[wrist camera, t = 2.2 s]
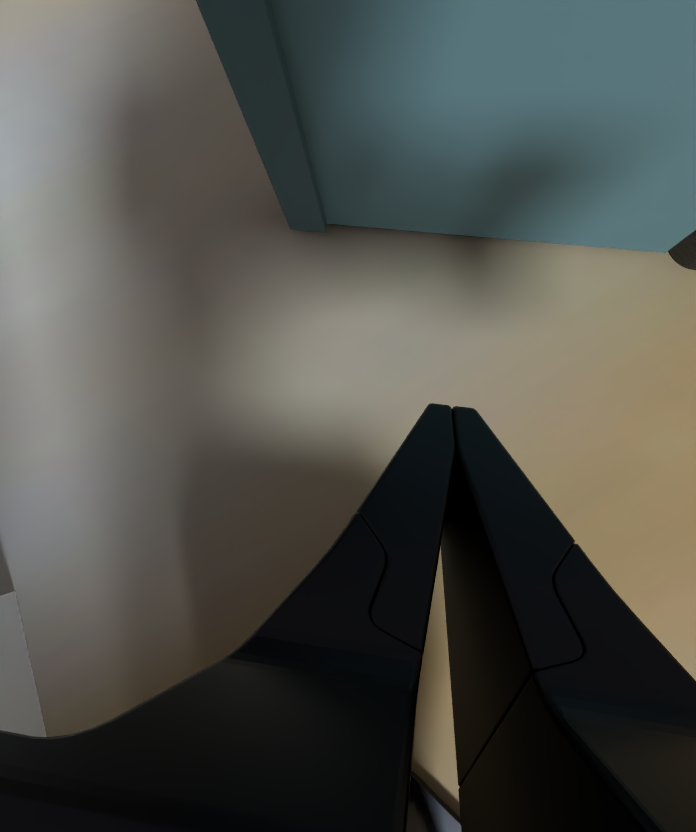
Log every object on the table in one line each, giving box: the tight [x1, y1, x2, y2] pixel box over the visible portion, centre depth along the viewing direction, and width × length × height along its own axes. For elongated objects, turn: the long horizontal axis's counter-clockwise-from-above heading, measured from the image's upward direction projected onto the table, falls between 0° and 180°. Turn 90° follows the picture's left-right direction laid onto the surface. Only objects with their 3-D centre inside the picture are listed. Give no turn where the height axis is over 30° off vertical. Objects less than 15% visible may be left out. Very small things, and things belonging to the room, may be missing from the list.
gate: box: [196, 0, 696, 253], centre depth 15 cm, size 16×2×13 cm, turn 83°
